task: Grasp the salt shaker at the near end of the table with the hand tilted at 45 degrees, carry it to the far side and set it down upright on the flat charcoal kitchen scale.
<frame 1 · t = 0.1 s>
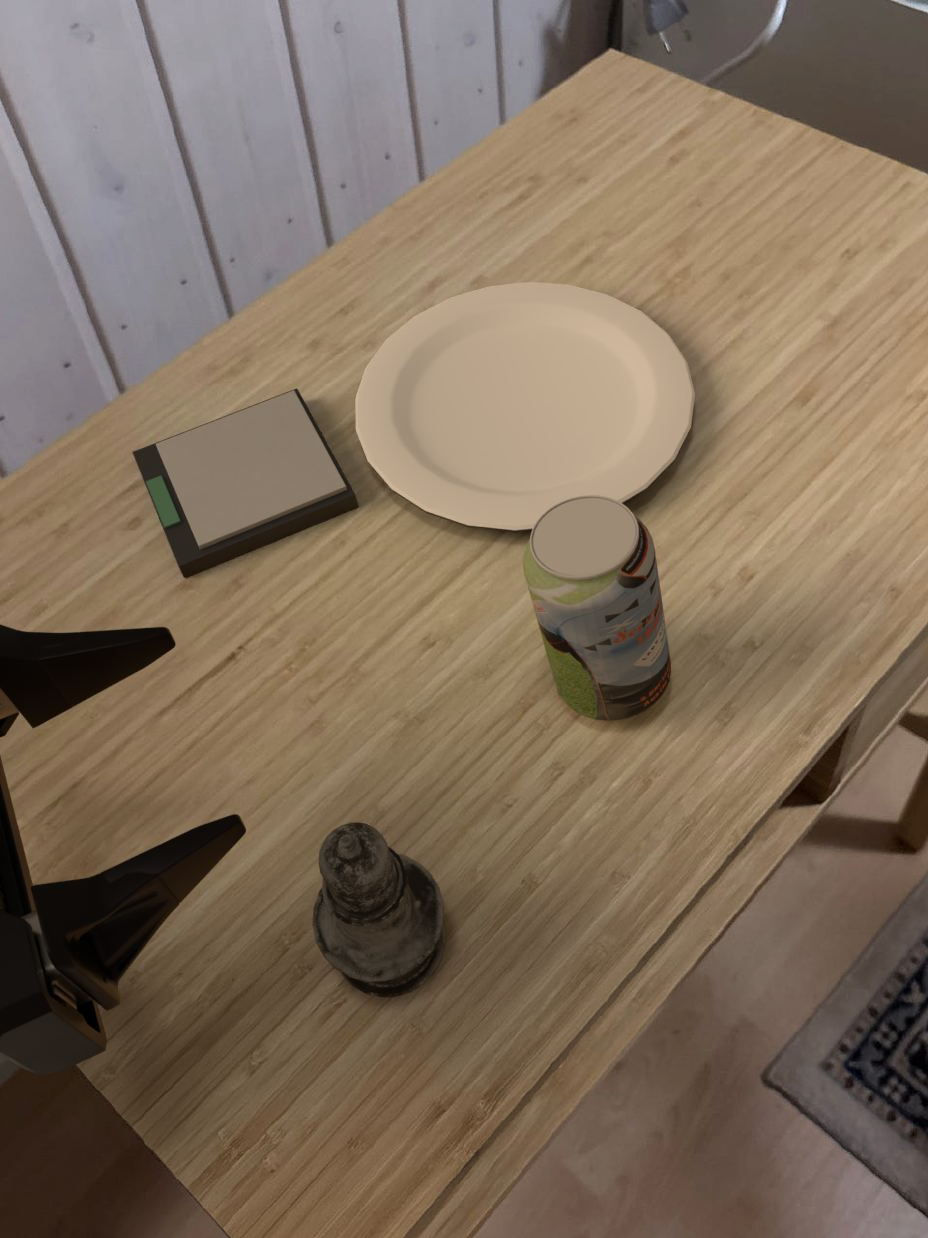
hand: (205, 724, 45), 14 cm above the table, tool horizontal, fingers open, 9 cm apart
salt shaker: (389, 941, 54), on the table
scale: (245, 485, 70), on the table
plate: (523, 414, 72), on the table
beverage can: (599, 678, 61), on the table
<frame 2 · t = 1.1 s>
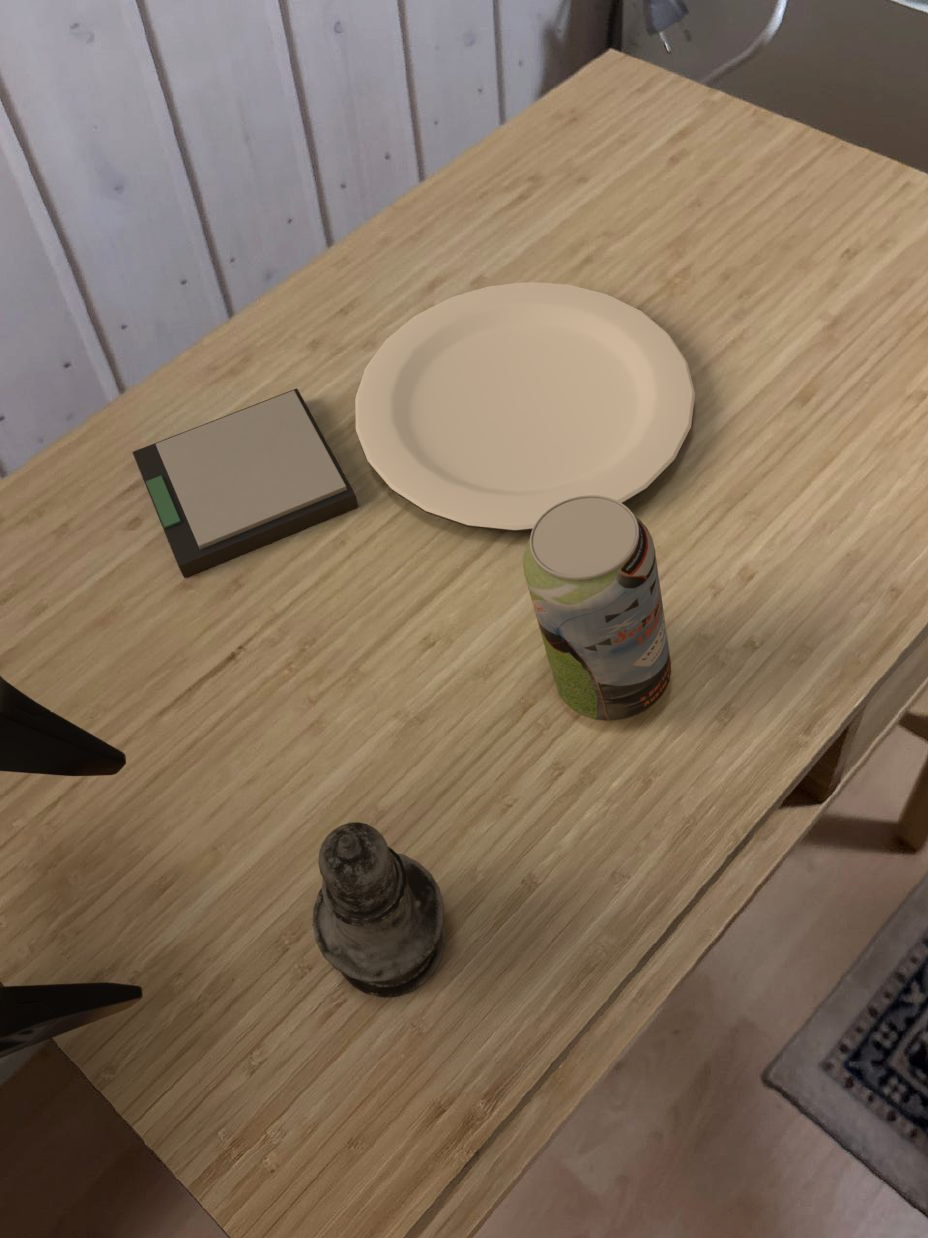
hand: (129, 873, 42), 13 cm above the table, tool tilted 45°, fingers open, 9 cm apart
nothing on the table moved.
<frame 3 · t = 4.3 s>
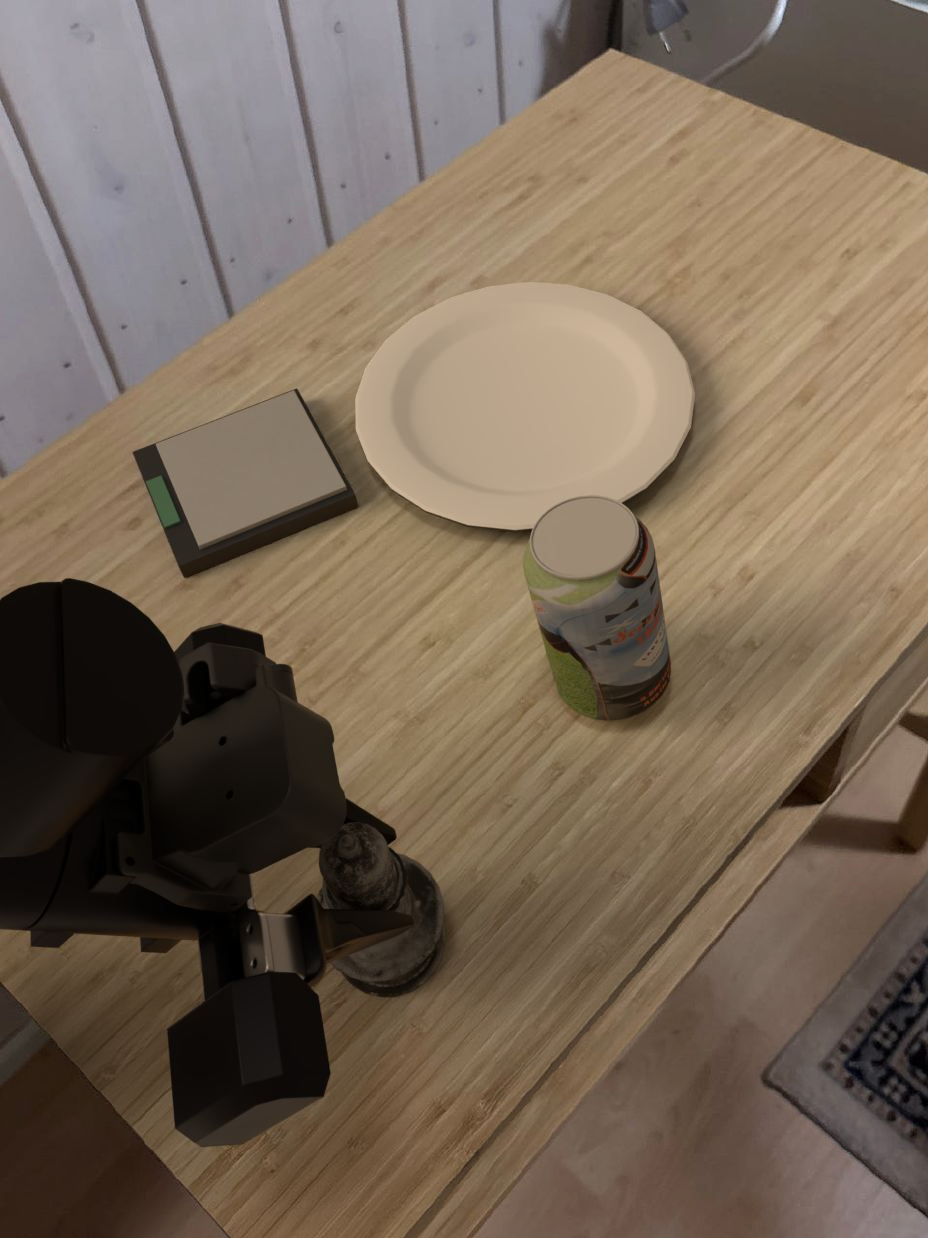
hand: (399, 881, 48), 7 cm above the table, tool tilted 45°, fingers closed on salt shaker, 3 cm apart
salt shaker: (389, 941, 54), on the table, touching gripper
everything else where it was.
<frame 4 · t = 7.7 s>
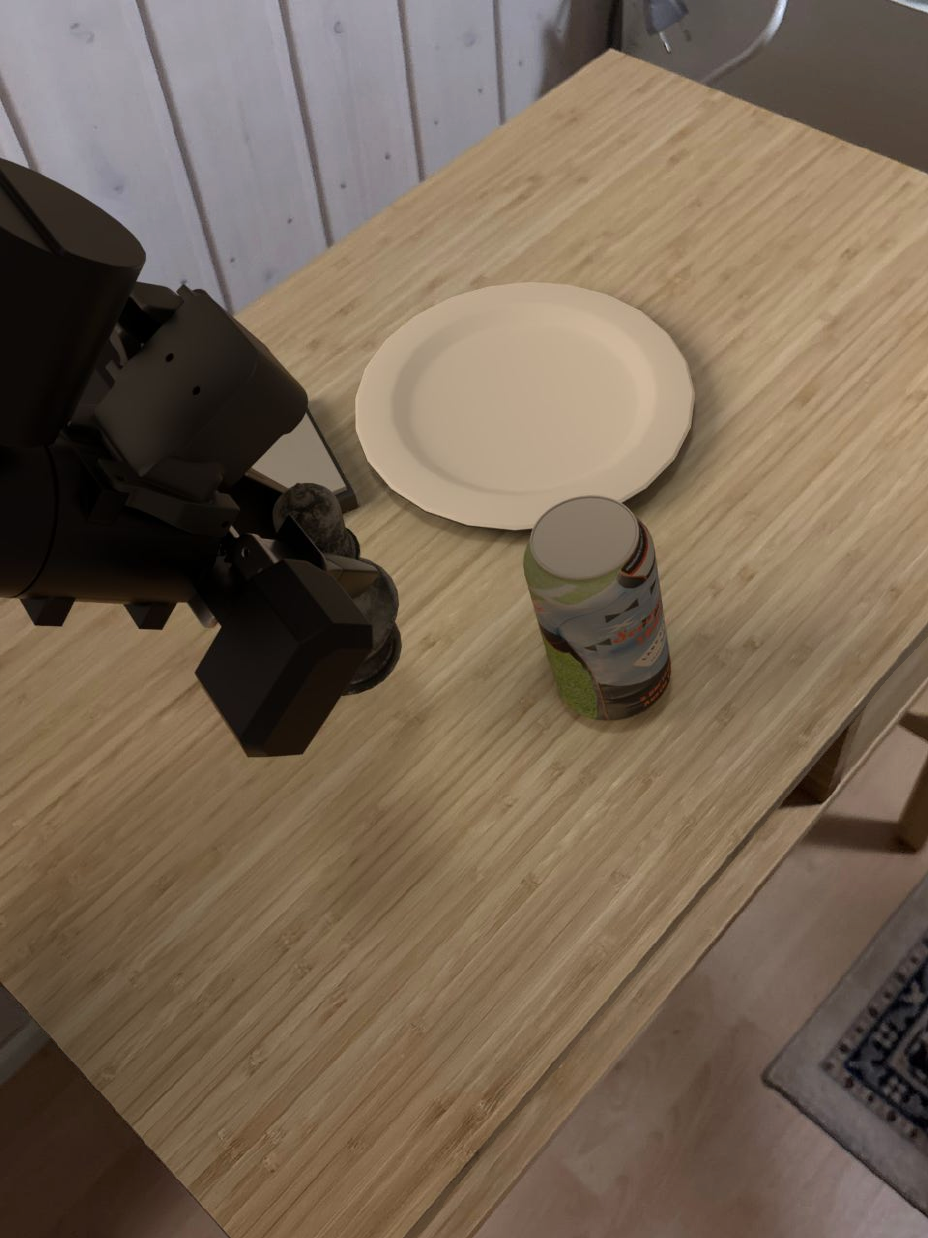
hand: (349, 550, 50), 13 cm above the table, tool tilted 45°, fingers closed on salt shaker, 3 cm apart
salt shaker: (347, 650, 55), point 6 cm above the table, touching gripper
everything else where it was.
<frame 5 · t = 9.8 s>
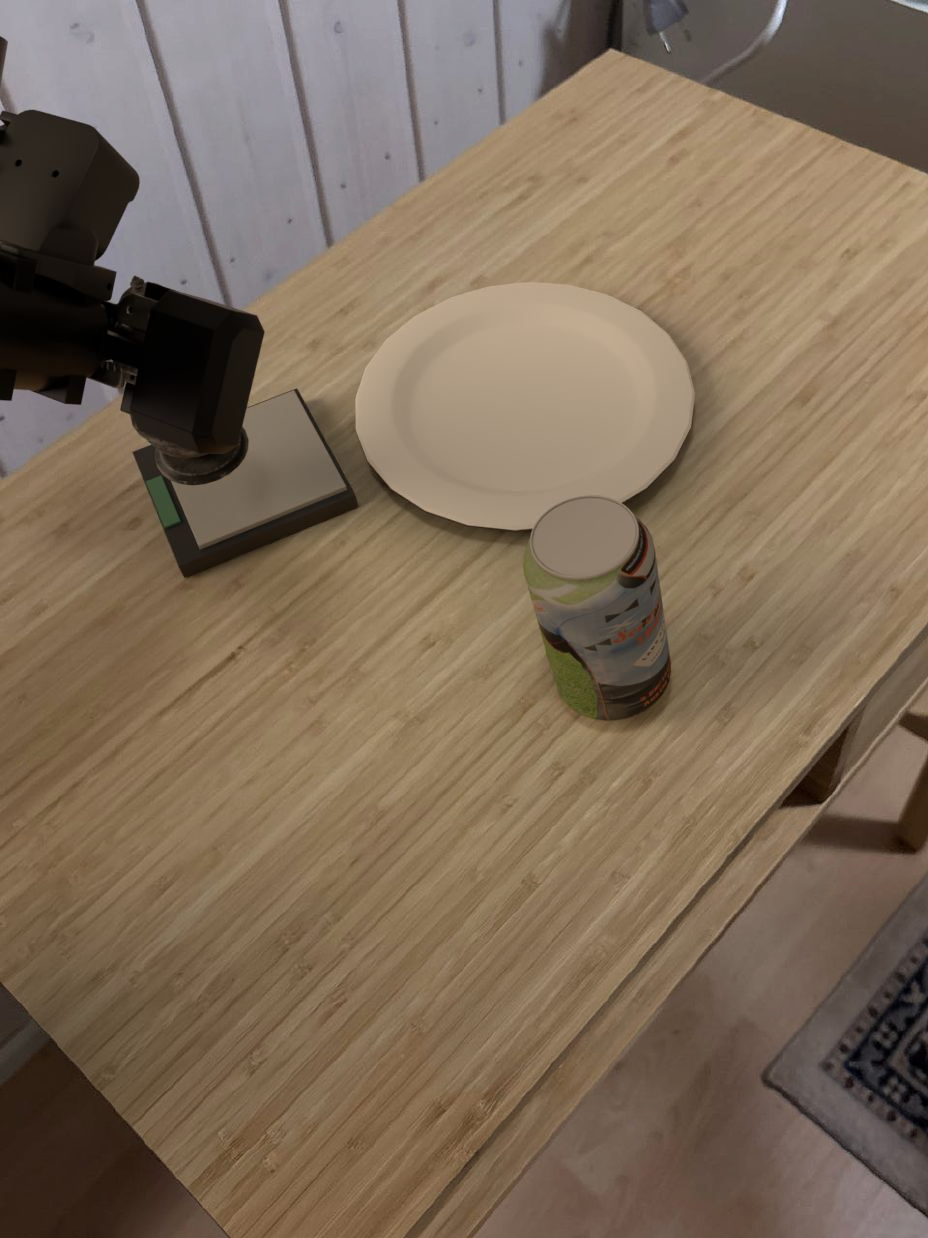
hand: (183, 345, 59), 12 cm above the table, tool tilted 45°, fingers closed on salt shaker, 3 cm apart
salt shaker: (203, 451, 64), point 6 cm above the table, touching gripper
everything else where it was.
when the fingers open (8 cm above the table, at t = 11.3 s): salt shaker stays where it is, resting on scale.
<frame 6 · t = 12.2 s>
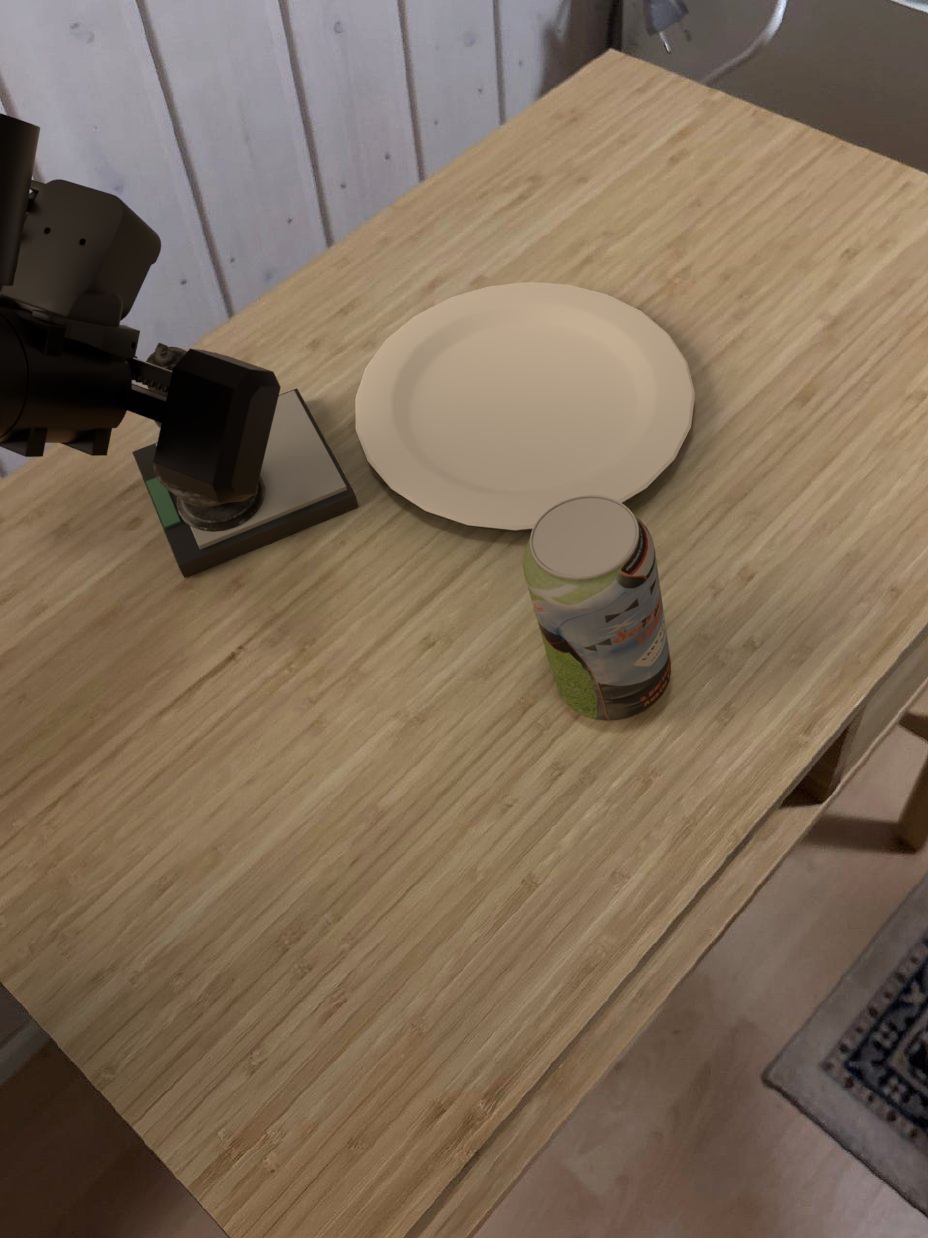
hand: (201, 389, 62), 9 cm above the table, tool tilted 45°, fingers open, 9 cm apart
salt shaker: (222, 498, 68), point 1 cm above the table, touching scale
everything else where it was.
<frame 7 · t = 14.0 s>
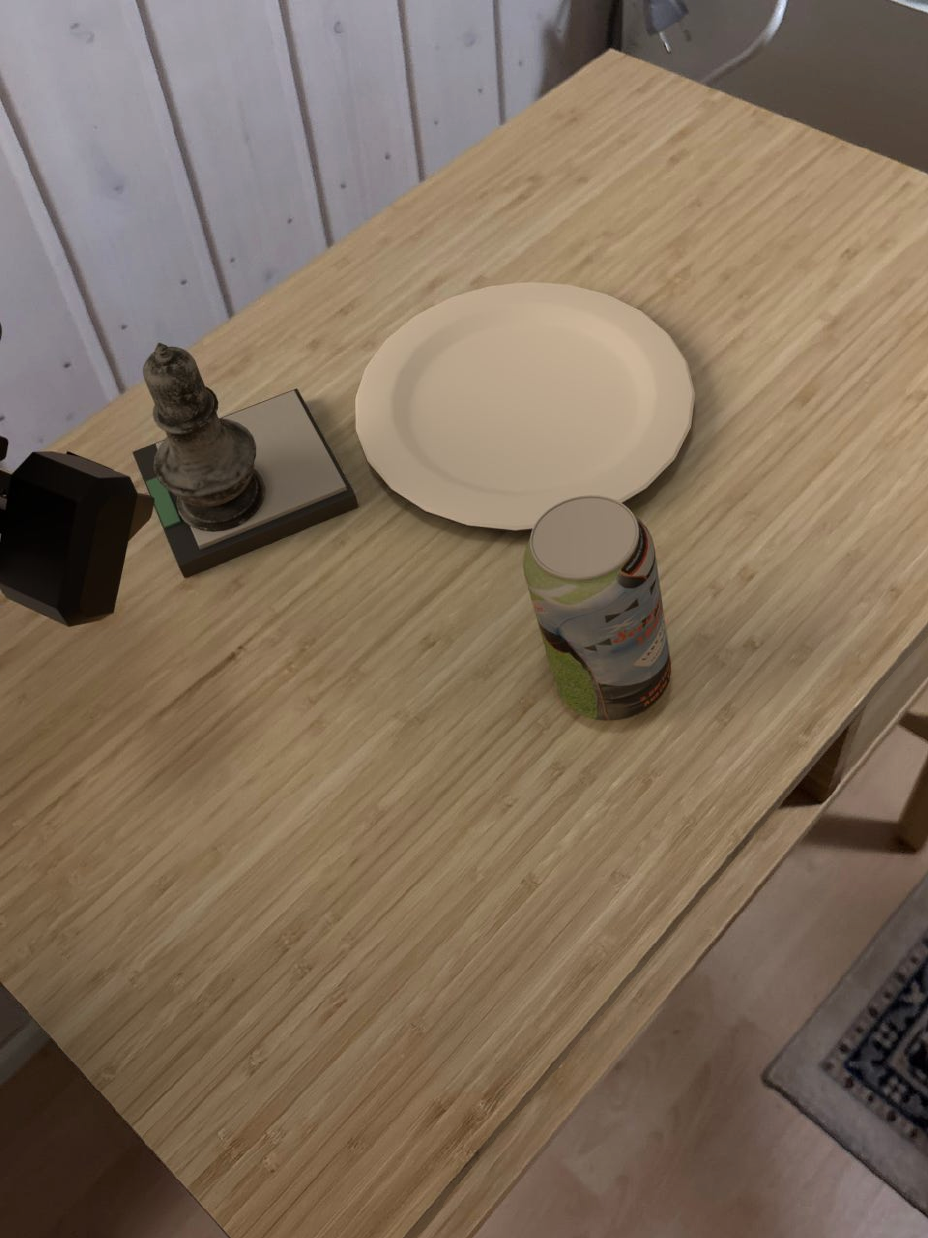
hand: (75, 476, 56), 12 cm above the table, tool tilted 45°, fingers open, 9 cm apart
nothing on the table moved.
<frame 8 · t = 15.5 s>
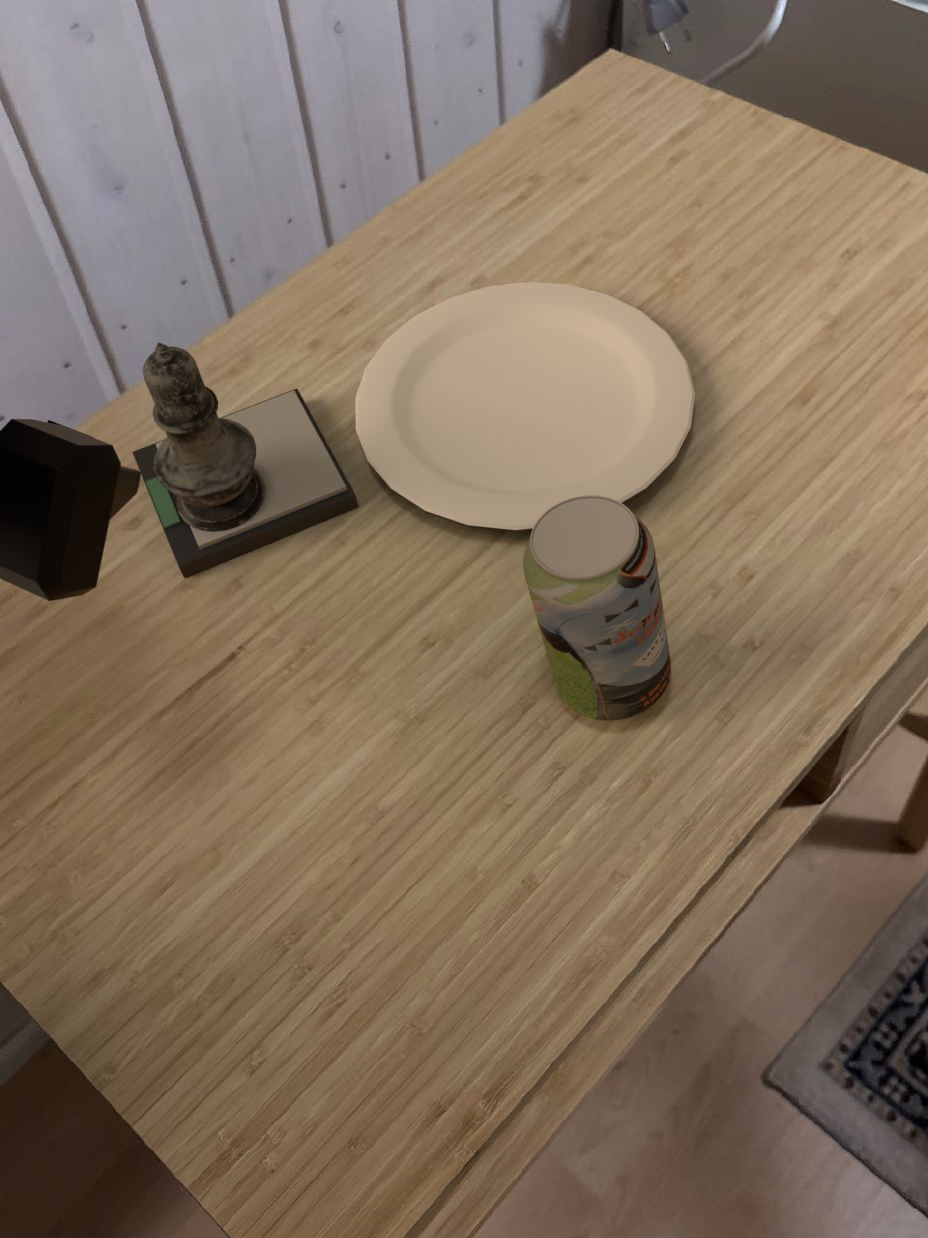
hand: (60, 451, 54), 14 cm above the table, tool tilted 45°, fingers open, 9 cm apart
nothing on the table moved.
at the end: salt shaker inside the target area on the scale (1.1 cm from its centre), point 1.4 cm above the scale's base; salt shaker tilted 0°; the gripper is holding nothing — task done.
